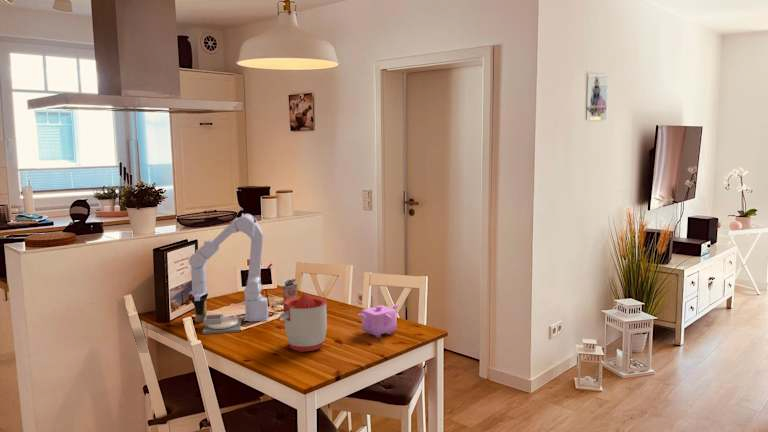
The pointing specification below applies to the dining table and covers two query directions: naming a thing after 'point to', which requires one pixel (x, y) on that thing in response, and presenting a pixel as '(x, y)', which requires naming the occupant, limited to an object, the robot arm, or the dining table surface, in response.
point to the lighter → (290, 289)
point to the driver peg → (201, 317)
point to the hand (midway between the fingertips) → (200, 313)
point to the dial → (220, 321)
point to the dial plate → (226, 330)
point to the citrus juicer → (305, 322)
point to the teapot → (379, 320)
